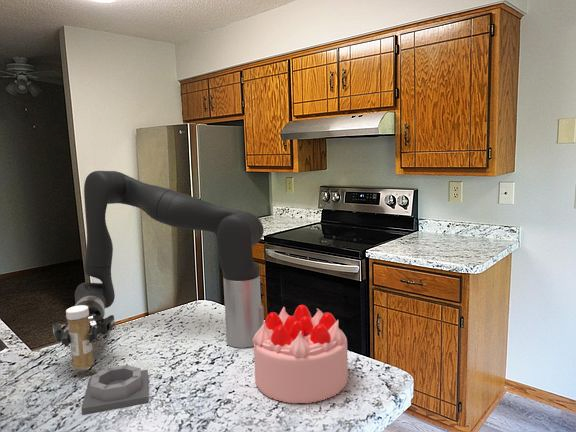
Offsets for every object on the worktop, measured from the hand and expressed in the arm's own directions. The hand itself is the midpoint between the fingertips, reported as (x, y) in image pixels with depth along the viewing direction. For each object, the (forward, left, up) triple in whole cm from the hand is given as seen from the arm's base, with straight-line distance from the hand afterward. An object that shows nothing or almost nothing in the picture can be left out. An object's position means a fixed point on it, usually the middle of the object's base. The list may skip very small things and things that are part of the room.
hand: (78, 340), depth 97 cm
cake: (-45, +17, -9) cm, 49 cm away
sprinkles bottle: (0, -3, -7) cm, 8 cm away
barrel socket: (-8, +9, -9) cm, 15 cm away
